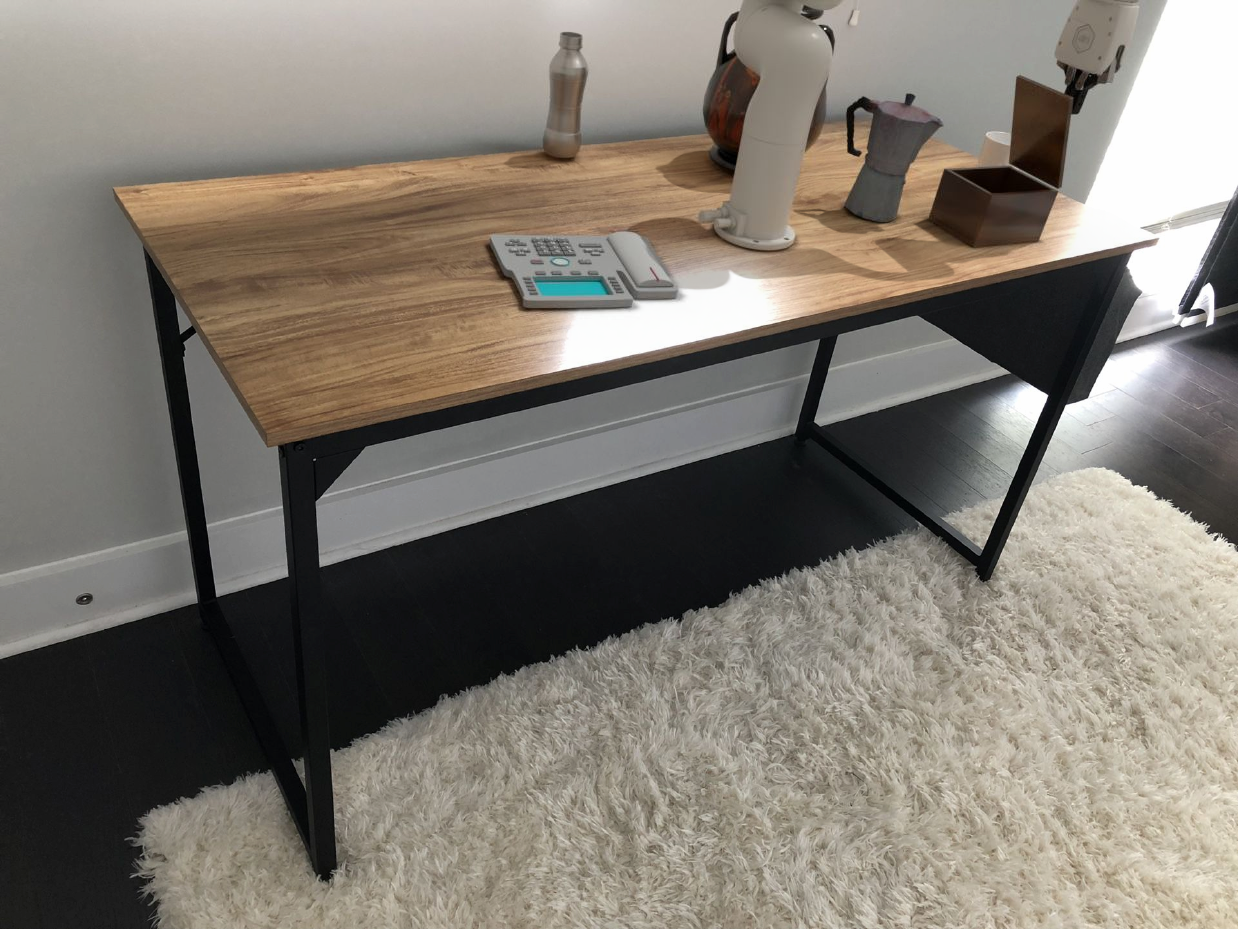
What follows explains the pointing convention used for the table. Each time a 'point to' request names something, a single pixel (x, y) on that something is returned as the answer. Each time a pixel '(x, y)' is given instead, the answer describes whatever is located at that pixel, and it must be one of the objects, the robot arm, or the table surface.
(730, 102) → the amphora vase
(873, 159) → the moka pot
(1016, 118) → the lid
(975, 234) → the box
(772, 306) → the table surface
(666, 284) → the office telephone
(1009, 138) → the white cup
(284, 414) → the table surface
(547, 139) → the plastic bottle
